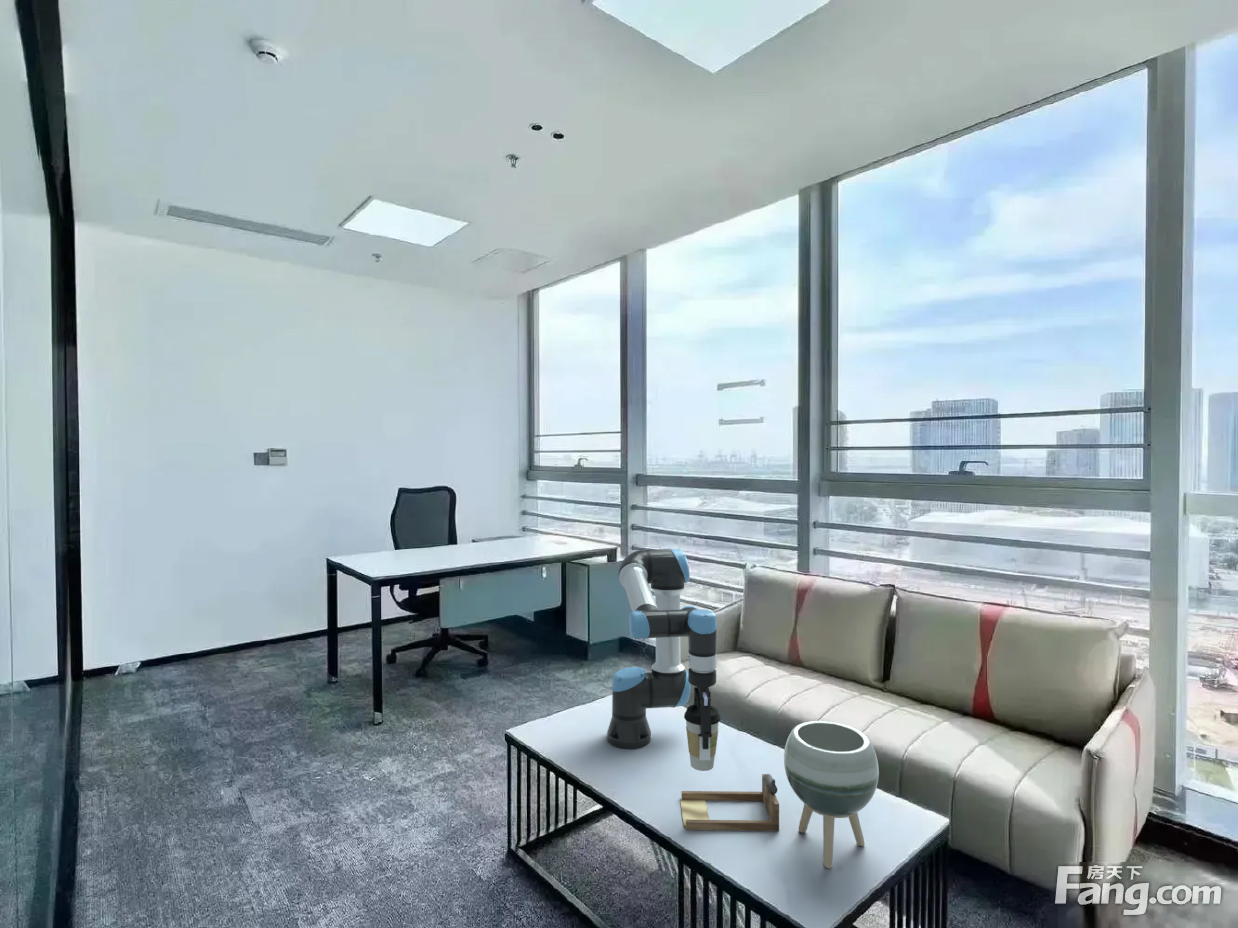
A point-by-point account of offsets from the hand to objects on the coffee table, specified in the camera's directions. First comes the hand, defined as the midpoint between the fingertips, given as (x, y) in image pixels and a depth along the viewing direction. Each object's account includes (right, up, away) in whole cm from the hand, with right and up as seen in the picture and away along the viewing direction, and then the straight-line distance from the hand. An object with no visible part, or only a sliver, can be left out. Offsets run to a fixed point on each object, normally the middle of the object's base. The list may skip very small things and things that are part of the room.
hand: (702, 749), depth 167 cm
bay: (+7, -17, 0) cm, 19 cm away
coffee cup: (0, -4, 0) cm, 4 cm away
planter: (+30, -18, -15) cm, 38 cm away
